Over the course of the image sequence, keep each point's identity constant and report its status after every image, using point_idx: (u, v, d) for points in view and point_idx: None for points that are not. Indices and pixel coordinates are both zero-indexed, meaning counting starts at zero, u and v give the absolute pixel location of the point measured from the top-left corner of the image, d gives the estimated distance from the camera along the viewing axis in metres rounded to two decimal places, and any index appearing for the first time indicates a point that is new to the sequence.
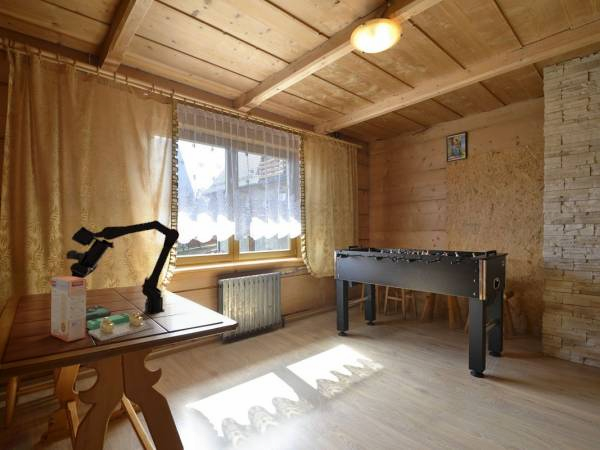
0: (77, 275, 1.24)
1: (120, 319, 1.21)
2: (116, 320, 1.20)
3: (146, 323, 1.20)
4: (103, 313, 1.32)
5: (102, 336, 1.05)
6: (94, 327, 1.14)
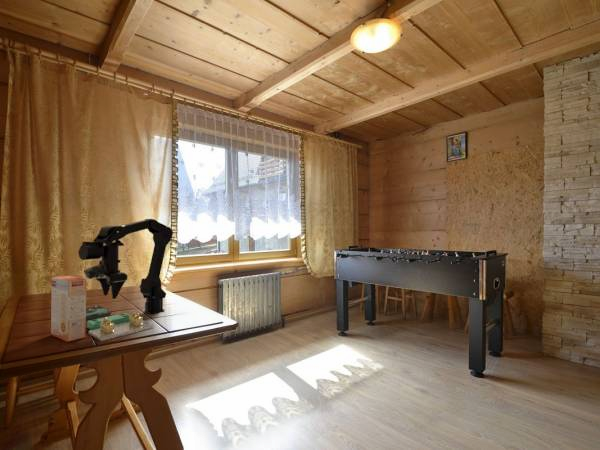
0: (116, 285, 1.18)
1: (120, 319, 1.21)
2: (116, 320, 1.20)
3: (146, 323, 1.20)
4: (103, 313, 1.32)
5: (102, 336, 1.05)
6: (94, 327, 1.14)
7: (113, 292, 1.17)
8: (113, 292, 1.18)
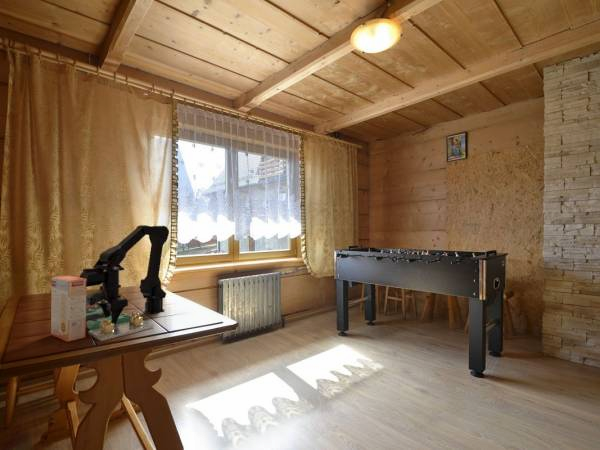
0: (116, 310, 1.19)
1: (120, 319, 1.21)
2: None
3: (146, 323, 1.20)
4: None
5: (102, 336, 1.05)
6: (94, 327, 1.14)
7: (113, 317, 1.18)
8: (113, 317, 1.18)
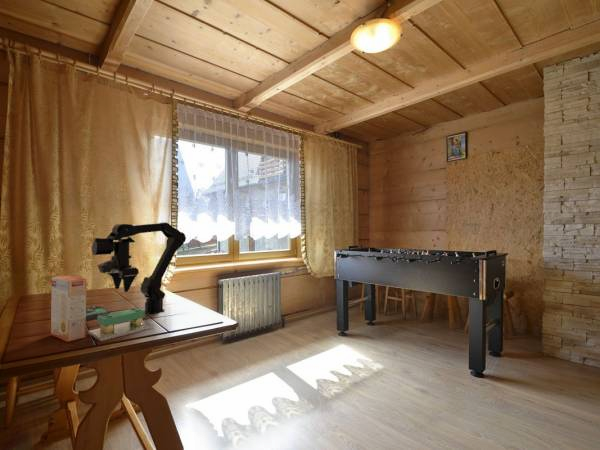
0: (128, 279, 1.26)
1: (132, 314, 1.14)
2: (128, 315, 1.13)
3: (146, 323, 1.20)
4: (103, 313, 1.32)
5: (102, 336, 1.05)
6: (105, 322, 1.07)
7: (125, 286, 1.25)
8: (125, 285, 1.25)
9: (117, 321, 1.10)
